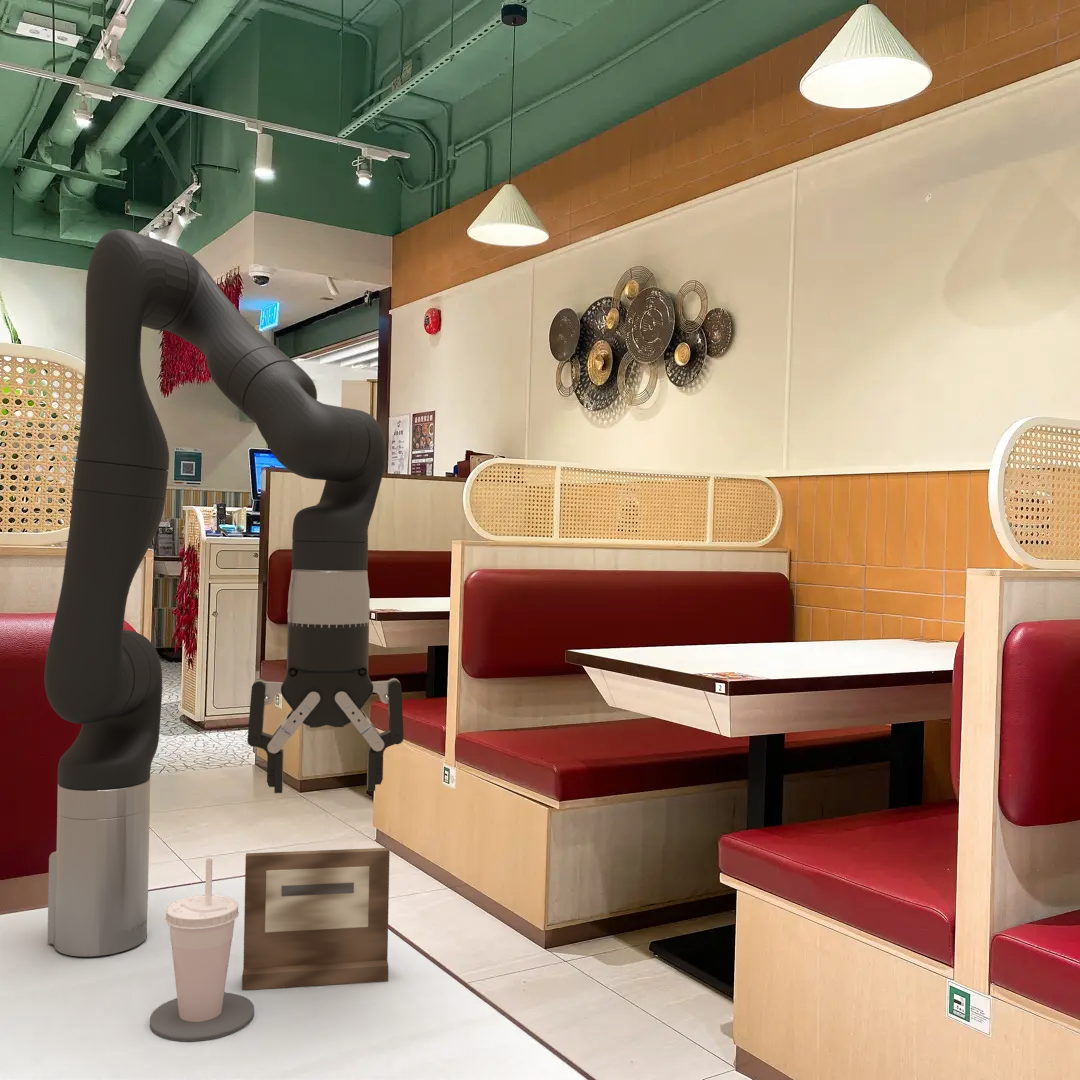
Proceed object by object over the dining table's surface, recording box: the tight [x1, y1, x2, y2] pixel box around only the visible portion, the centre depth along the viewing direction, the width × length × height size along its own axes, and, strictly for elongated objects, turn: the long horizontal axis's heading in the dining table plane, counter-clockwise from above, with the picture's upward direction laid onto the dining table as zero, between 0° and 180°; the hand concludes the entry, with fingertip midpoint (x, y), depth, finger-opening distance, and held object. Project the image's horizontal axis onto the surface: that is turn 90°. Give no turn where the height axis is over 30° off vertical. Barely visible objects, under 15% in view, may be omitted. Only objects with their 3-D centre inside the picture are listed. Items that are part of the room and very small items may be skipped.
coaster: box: [149, 991, 255, 1042], centre depth 97 cm, size 9×9×1 cm
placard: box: [241, 847, 391, 991], centre depth 107 cm, size 14×4×12 cm, turn 102°
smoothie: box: [164, 857, 240, 1022], centre depth 97 cm, size 6×6×14 cm
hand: (325, 790), depth 100 cm, fingers open, 8 cm apart
